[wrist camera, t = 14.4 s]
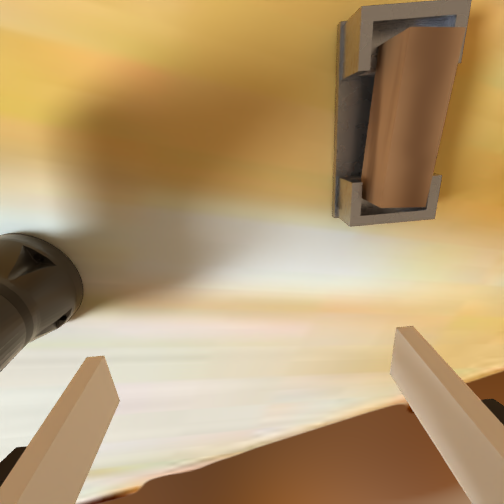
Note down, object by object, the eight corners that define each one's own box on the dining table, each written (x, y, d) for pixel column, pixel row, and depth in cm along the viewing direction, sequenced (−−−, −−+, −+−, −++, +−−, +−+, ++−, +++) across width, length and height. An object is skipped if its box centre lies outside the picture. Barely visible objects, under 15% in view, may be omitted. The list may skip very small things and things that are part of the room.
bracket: (332, 216, 41) (347, 229, 35) (337, 24, 32) (358, 2, 27) (409, 209, 41) (436, 221, 35) (435, 17, 33) (475, -7, 27)
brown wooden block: (358, 196, 37) (380, 207, 31) (378, 45, 31) (410, 26, 25) (397, 196, 37) (425, 207, 32) (424, 46, 31) (466, 27, 25)
